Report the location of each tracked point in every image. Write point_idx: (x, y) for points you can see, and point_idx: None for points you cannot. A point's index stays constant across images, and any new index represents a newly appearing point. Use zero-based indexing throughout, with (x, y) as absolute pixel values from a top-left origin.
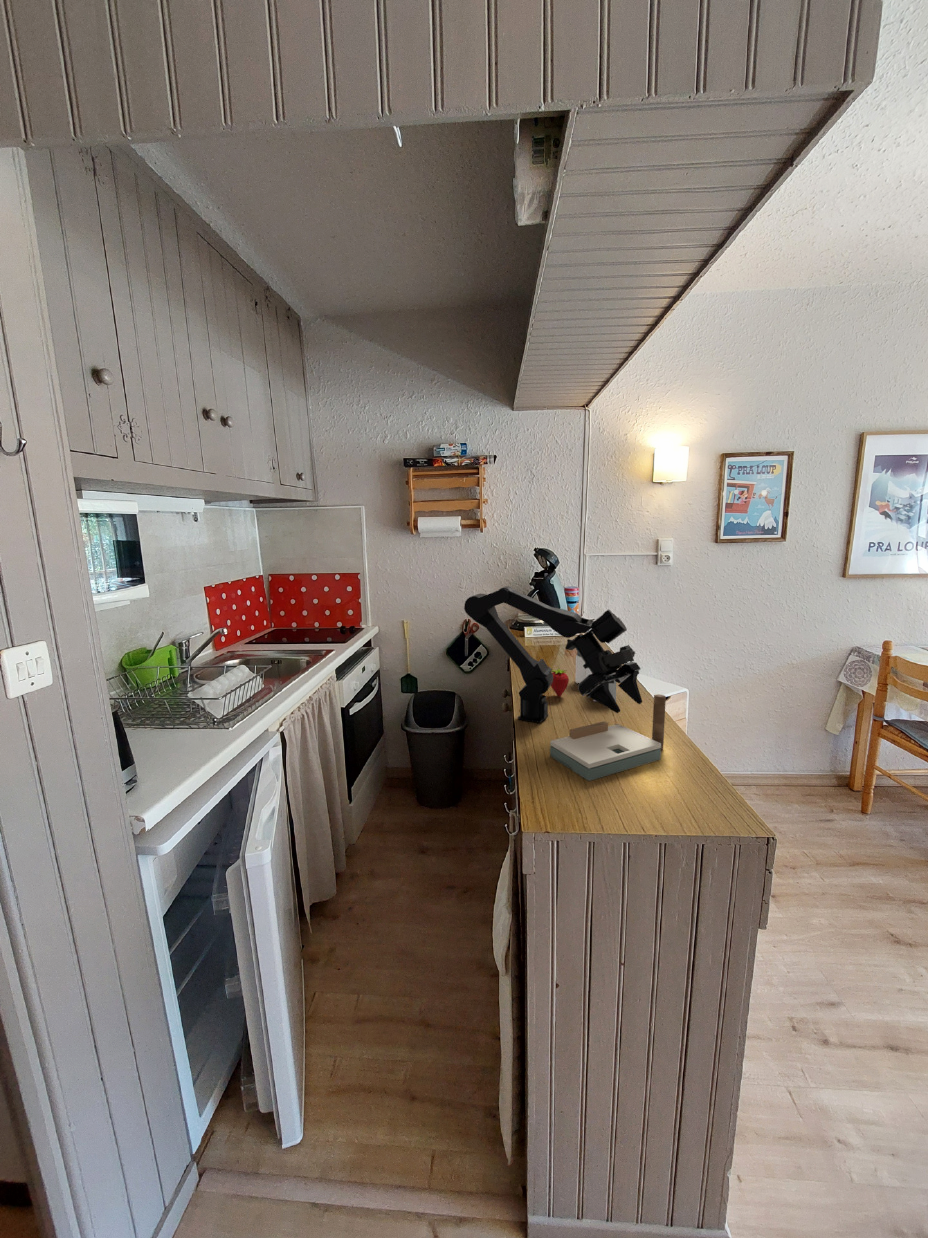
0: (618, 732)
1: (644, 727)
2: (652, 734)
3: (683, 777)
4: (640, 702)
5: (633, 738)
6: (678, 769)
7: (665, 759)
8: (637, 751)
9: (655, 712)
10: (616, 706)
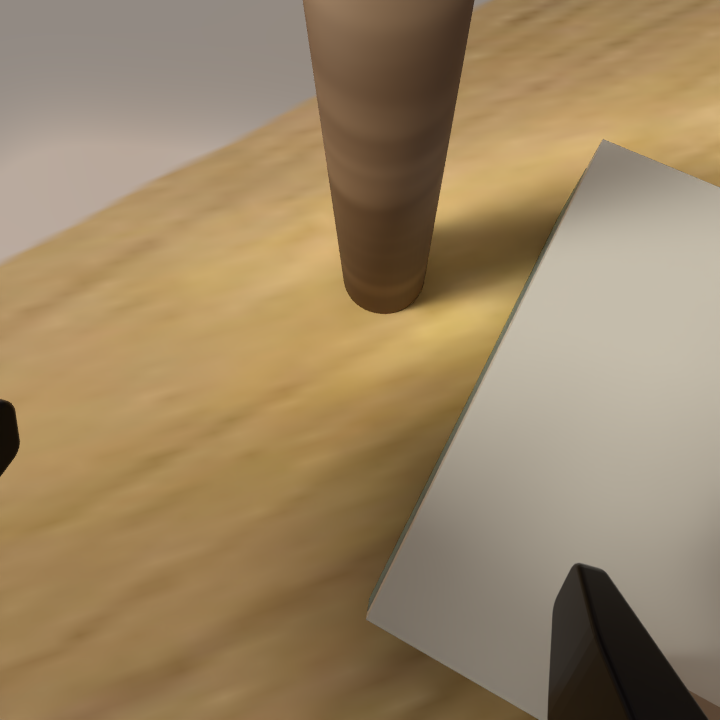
0: (600, 533)
1: (7, 473)
2: (410, 261)
3: (715, 51)
4: (7, 421)
5: (651, 357)
6: (629, 94)
7: (536, 187)
8: None
9: (457, 85)
10: (648, 638)
